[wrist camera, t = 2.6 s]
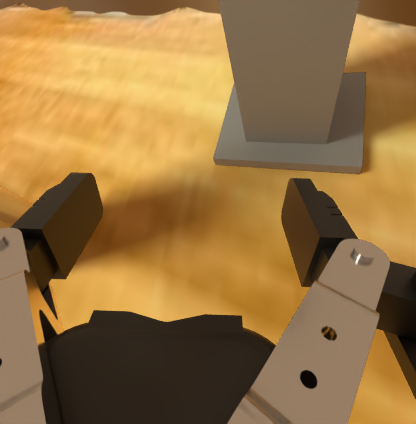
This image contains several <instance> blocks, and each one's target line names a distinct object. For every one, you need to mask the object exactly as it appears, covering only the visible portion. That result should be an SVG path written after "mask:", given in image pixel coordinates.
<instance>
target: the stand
mask: <svg viewBox="0 0 416 424" xmlns="http://www.w3.org/2000/svg"><path fill="white" fill-rule="evenodd" d="M218 2H219V7H220V12H221V17H222V22H223V27H224V32H225V37H226V42H227V47H228V52H229V57H230V62H231V67H232V73H233V78H234V85H233V89H232V93H231V96H230V100H229V103H228V107H227V111H226V114H225V118H224V121H223V125H222V129H221V132H220V136H219V140H218V143H217V147H216V150H215V154H214V158H213V159H214V162H215V164H216V165H227V166H243V167H258V168H273V169H289V170H304V171H319V172H334V173H350V174H359V173H360V171H361V169H362V162H363V136H364V111H365V86H366V72H357V73H343V70H344V65H345V61H346V57H347V52H348V48H349V44H350V39H351V35H352V31H353V26H354V22H355V18H356V13H357V9H358V5H359V0H218Z"/></svg>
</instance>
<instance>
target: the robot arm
mask: <svg viewBox="0 0 416 424" xmlns="http://www.w3.org/2000/svg"><path fill="white" fill-rule="evenodd" d="M102 214H103V206H102V202H101V198H100V194H99V191H98V187H97V184H96V180H95V177H94V175H93V174H92V173H70V174H69V175H68V176H67V177H66V178H65V179H64V180H63V181H62V182H61V183H60V184H58V185H56V186H54V187H53V188H51V189H49V190H47V191H46V192H45V193H44V194H43V195H42V196H41V197H40V198H39V200H37V201H36V202H35V203H32V202H30V201H28V200H26V199H24V198H22V197H20V196H18V195H16V194H14V193H12V192H10V191H8V190H6V189H4V188H2V187H0V424H347V423H348V420H349V417H350V413H351V410H352V407H353V403H354V400H355V397H356V393H357V390H358V387H359V383H360V380H361V377H362V374H363V370H364V367H365V364H366V360H367V357H368V354H369V350H370V347H371V344H372V340H373V337H374V334H375V330H376V328H377V329H380V330H383V331H384V333H385V335H386V337H387V339H388V341H389V343H390V346H391V348H392V350H393V352H394V354H395V356H396V358H397V361H398V363H399V365H400V367H401V369H402V371H403V373H404V376H405V378H406V380H407V382H408V384H409V386H410V388H411V390H412V393H413V395H414V397H415V399H416V268H414V267H410V266H406V265H402V264H398V263H394V262H390V261H389V258H388V257H387V255H386V254H385V253H384V252H383V251H382V250H381V249H380V248H378V247H377V246H375V245H374V244H371V243H369V242H367V241H364V240H360V239H358V238H357V236H356V235H355V233H354V232H353V230H352V229H351V227H350V225H349V224H348V222H347V221H346V219H345V218H344V216H342V213H341V211H340V210H339V209H338V207H337V205H336V203H335V202H334V200H333V199H332V198H331V197H330V196H328V195H327V194H326V193H324V192H323V191H317V189H316V188H315V186H314V184H313V182H312V181H311V179H300V178H291V179H290V180H289V182H288V186H287V190H286V195H285V199H284V203H283V208H282V215H281V218H282V225H283V228H284V231H285V235H286V238H287V241H288V244H289V247H290V251H291V254H292V257H293V260H294V263H295V267H296V270H297V273H298V276H299V279H300V283H301V286H302V287H311V288H310V290H309V291H308V293H307V295H306V296H305V298H304V300H303V301H302V303H301V305H300V306H299V308H298V310H297V311H296V313H295V315H294V316H293V318H292V320H291V321H290V323H289V325H288V327H287V328H286V330H285V332H284V333H283V335H282V337H281V338H280V340H279V342H278V343H277V345H275V344H274V343H272V342H271V341H269V340H268V339H267V338H265V337H263V336H262V335H260V334H258V333H256V332H254V331H251V330H249V329H246V328H243V326H242V316H234V315H207V314H205V315H200V316H195V317H190V318H185V319H181V320H176V321H171V322H163V321H159V320H156V319H152V318H149V317H146V316H143V315H139V314H136V313H133V312H126V311H99V310H94V311H93V313H92V316H91V318H90V320H89V323H84V324H81V325H78V326H75V327H73V328H70V329H68V330H66V331H64V328H63V325H62V321H61V318H60V314H59V310H58V307H57V303H56V300H55V296H54V292H53V289H52V287H51V285H50V283H49V282H50V280H51V279H66V278H67V276H68V274H69V273H70V271H71V269H72V268H73V266H74V264H75V262H76V261H77V259H78V257H79V256H80V254H81V252H82V251H83V249H84V247H85V245H86V244H87V242H88V240H89V239H90V237H91V235H92V233H93V232H94V230H95V228H96V227H97V225H98V223H99V221H100V220H101V218H102Z"/></svg>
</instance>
